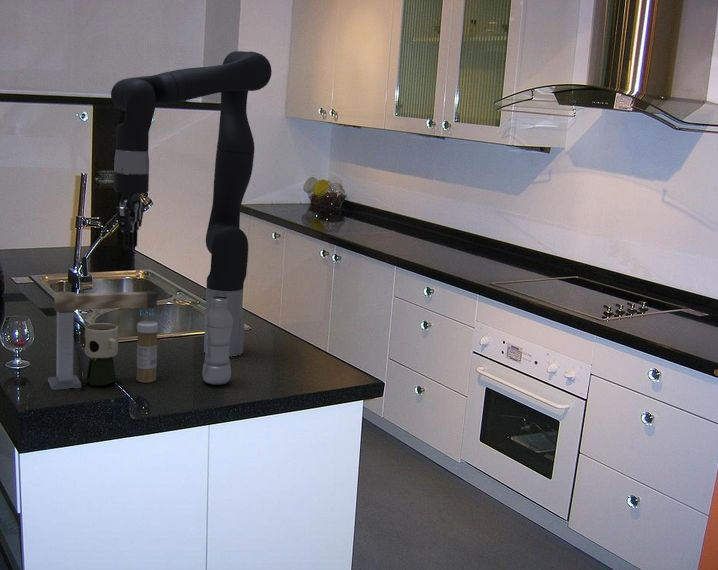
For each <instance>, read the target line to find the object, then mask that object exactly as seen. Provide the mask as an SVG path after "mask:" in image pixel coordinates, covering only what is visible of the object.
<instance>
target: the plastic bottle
mask: <svg viewBox="0 0 718 570" xmlns="http://www.w3.org/2000/svg"><path fill="white" fill-rule="evenodd" d="M211 306H212V308H211V310H210V311H209V312H208V314H207V315H206V317H205V316H204V333H205V332H206V354H204V362H203V366H202V379H203V381H204V382H205V383H206V384H209V385H212V386H214V385H218V386H221V385H225V384H227V383H228V382H229V381H230V379H231V375H232V369H231V361H230V359H231V358H229V346H230V345H229V344H230V336H231V331H232V325H233V319H232V316H231V314H230V313H229V311H228V310H227V306H228V298H227V297H224V296H213V297H212V303H211Z"/></svg>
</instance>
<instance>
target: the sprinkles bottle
mask: <svg viewBox="0 0 718 570" xmlns="http://www.w3.org/2000/svg"><path fill="white" fill-rule="evenodd" d="M136 331H137V344H136V377H135V379H136V381H138V382H139V383H145V384H146V383H149V384H150V383H153V382H156V380H157V362H158V331H159V323H158V322H157V321H154V320H141V321H138V322H137V323H136Z"/></svg>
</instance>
